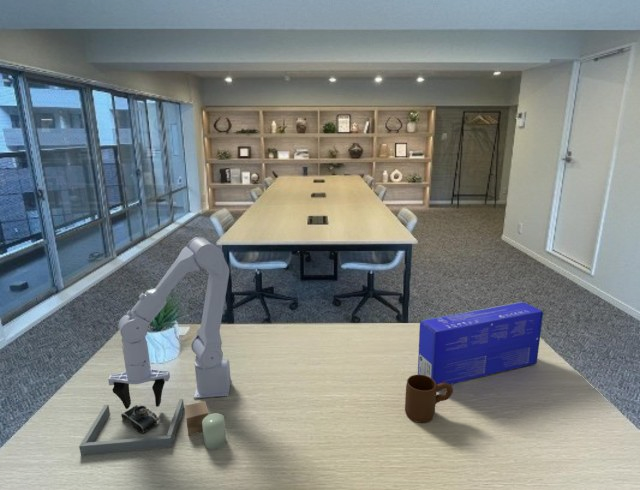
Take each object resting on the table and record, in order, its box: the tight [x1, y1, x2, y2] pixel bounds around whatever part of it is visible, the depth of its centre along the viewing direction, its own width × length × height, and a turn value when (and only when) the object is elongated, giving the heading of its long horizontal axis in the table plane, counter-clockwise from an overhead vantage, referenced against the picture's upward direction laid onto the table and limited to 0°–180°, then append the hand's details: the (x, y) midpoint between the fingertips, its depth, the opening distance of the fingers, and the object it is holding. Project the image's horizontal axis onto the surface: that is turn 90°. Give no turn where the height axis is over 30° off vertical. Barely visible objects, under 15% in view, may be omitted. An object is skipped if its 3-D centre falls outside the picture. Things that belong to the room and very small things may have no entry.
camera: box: [120, 404, 160, 435], centre depth 102 cm, size 5×10×4 cm, turn 53°
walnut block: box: [184, 400, 209, 436], centre depth 100 cm, size 5×5×5 cm
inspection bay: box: [78, 398, 185, 456], centre depth 99 cm, size 20×14×2 cm
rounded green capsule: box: [202, 412, 227, 451], centre depth 95 cm, size 5×5×6 cm
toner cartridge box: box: [417, 301, 544, 385], centre depth 122 cm, size 39×8×18 cm, turn 109°
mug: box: [404, 374, 454, 424], centre depth 103 cm, size 12×8×9 cm, turn 91°
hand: (143, 405), depth 106 cm, fingers open, 7 cm apart
